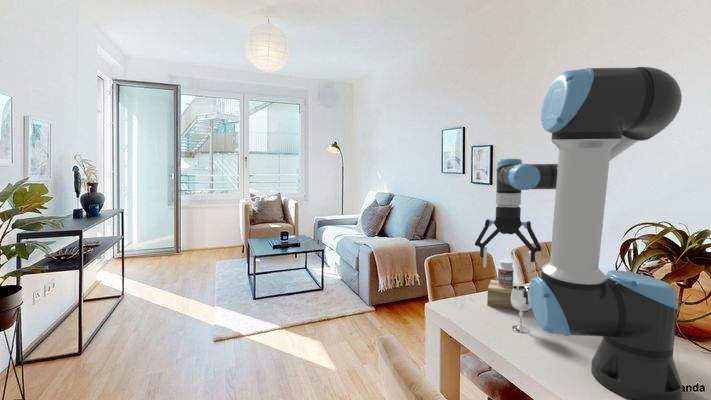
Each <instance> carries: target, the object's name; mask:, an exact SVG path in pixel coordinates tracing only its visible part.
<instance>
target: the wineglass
mask: <svg viewBox="0 0 711 400" xmlns="http://www.w3.org/2000/svg"><path fill="white" fill-rule="evenodd" d="M510 300H511V304H512V306H513V307H514V308H515V309H517V310H516V311H519V314H518V315H519V324H518V325H513V326H512V327H511V329H512V330H513V331H514V332H517V333H520V334H528V333H529V332H530V330H529V328H528V327H526V326H523V321H522V320H523V316H524V312H525V311H527V312H528V311H530V310H532V307H531V303H530V297H529V287H526V286H514V287H513V289H512V292H511V299H510Z"/></svg>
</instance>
